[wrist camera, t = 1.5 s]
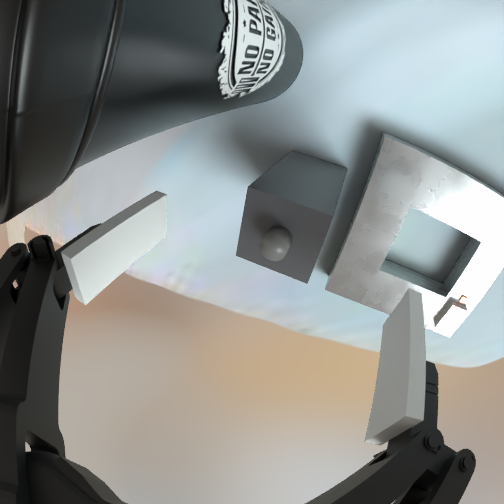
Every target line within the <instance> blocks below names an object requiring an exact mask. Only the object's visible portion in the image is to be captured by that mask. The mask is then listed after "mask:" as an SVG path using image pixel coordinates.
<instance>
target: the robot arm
mask: <svg viewBox="0 0 504 504" xmlns="http://www.w3.org/2000/svg"><path fill="white" fill-rule="evenodd" d="M166 236H167V194H164V193H161V192H159V191H155V192H153V193H152V194H150V195H148V196H146V197H145V198H143V199H141V200H140V201H138V202H136V203H134V204H133V205H131V206H129V207H128V208H126V209H125V210H123V211H121V212H120V213H118V214H117V215H115V216H113V217H112V218H110V219H109V220H107V221H105V222H104V223H102V224H101V223H100V224H97V225H95V226H92V227H90V228H88V229H87V230H85V231H84V232H83V233H81V234H79V235H78V236H77V237H75V238H74V239H72V240H71V241H69V242H68V243H66V244H65V245H64V246H62V247H61V248H59V249H58V250H57V251H55V250H54V246H53V242H52V239H51V237H50V236H48V235H40V236H37V237H35V238H33V239H32V240H31V241H30V242H29V243H28V244H27V245H28V248H29V251H30V253H29V252H28V249H27V246H26V245H25V244H24V243H16V244H14V245H13V246H11V247H10V248H9V249H8V250H7V251H6V252H5V254H4V255H3V257H2V258H1V259H0V504H127V503H125V502H123V501H121V500H120V499H119V498H118V497H117V496H116V494H115V493H114V492H113V491H112V490H111V489H110V488H109V487H108V486H107V485H106V484H105V482H103V481H102V480H101V479H99V478H98V477H97V476H95V475H94V474H93V473H92V472H90V471H89V470H88V469H87V468H85V467H83V466H80V465H78V464H76V463H74V462H72V461H70V460H68V459H66V458H65V446H64V440H63V436H62V434H61V432H60V430H59V425H58V394H59V375H60V362H61V352H62V343H63V335H64V328H65V322H66V315H67V309H68V304H69V299H70V298H69V297H70V295H69V291H71V289H73V292H74V294H75V297H76V298H77V299H78V300H79V301H81V302H82V303H83V304H85V305H86V304H87V303H88V302H89V301H91V299H93V298H94V297H95V296H96V295H97V294H98V293H100V292H101V291H102V290H103V289H104V288H105V287H106V286H107V285H108V284H110V283H111V282H112V281H113V280H114V279H115V278H117V277H118V276H119V275H120V274H121V273H122V272H124V271H125V270H126V269H127V268H128V267H130V266H131V265H132V264H133V263H134V262H136V261H137V260H138V259H139V258H140V257H142V256H143V255H144V254H145V253H146V252H148V251H149V250H150V249H151V248H153V247H154V246H155V245H156V244H157V243H159V242H160V241H161V240H162V239H164V238H165V237H166ZM14 280H16V282H17V284H18V286H17V287H16V288H14V286H13V284H12V283H13V282H14ZM437 395H438V373H437V370H436V367H435V364H434V363H431V362H428V361H426V350H425V327H424V313H423V302H422V293H420V292H418V291H415V290H413V289H410V288H408V290H407V291H406V293H405V294H404V296H403V297H402V299H401V300H400V302H399V303H398V305H397V306H396V308H395V309H394V310H393V312H392V313H391V315H390V316H389V318H388V319H387V320H386V322H385V323H384V325H383V332H382V342H381V351H380V359H379V367H378V374H377V381H376V387H375V393H374V398H373V404H372V409H371V414H370V419H369V424H368V428H367V433H366V437H365V442H369V443H373V444H376V445H382V444H384V443H386V442H388V441H389V442H388V447H387V449H386V450H384V451H382V452H380V453H378V454H376V455H374V459H373V460H371V461H370V462H369V463H367V464H366V465H365V466H363V467H362V468H361V469H359V470H358V471H357V472H355V473H354V474H352V475H351V476H349V477H348V478H347V479H345V480H344V481H342V482H341V483H339V484H337V485H336V486H334V487H333V488H331V489H330V490H328V491H327V492H325V493H323V494H321V495H320V496H318V497H316V498H315V499H313V500H311V501H309V502H307V503H306V504H391V503H392V502H394V500H395V502H394V503H393V504H458V503H459V501H460V499H461V497H462V495H463V493H464V491H465V489H466V487H467V485H468V483H469V481H470V479H471V477H472V474H473V472H474V469H475V466H476V460H475V456H474V454H473V453H472V451H471V450H469V449H462V450H460V451H458V452H455V451H454V450H452V449H451V448H449V447H448V446H446V445H445V444H444V440H443V436H442V434H441V432H440V431H439V430H438V429H437V416H438V415H437V414H438V396H437ZM25 442H27V443H28V444H29V445H30V448H31V451H30V452H25Z"/></svg>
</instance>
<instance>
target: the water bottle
mask: <svg viewBox="0 0 504 504" xmlns="http://www.w3.org/2000/svg"><path fill="white" fill-rule="evenodd" d="M302 61H303V47H302V42H301V39H300V36H299V34H298V32H297V31H296V29H295V28H294V26H293V25H292V24H291V23H290V22H289V21H288V20H287V19H286V18H285V17H283V16H282V15H281V14H280V13H279V12H278V11H277V10H275V9H274V8H273V7H272V6H271V5H270V4H268V3H267V2H266V1H265V0H0V224H2V223H5V222H7V221H9V220H10V219H12V218H13V217H15V216H16V215H18V214H20V213H21V212H23V211H24V210H26V209H28V208H29V207H31V206H33V205H34V204H36V203H38V202H39V201H41V200H43V199H44V198H46V197H48V196H49V195H50V194H52V193H53V192H54V191H55V189H56V188H57V187H59V186H60V185H61V184H63V183H64V182H65V181H66V180H67V179H68V178H69V177H70V175H71V174H72V173H73V172H74V170H75V169H76V168H78V167H80V166H82V165H84V164H86V163H88V162H90V161H92V160H95V159H97V158H99V157H101V156H103V155H105V154H107V153H110V152H112V151H114V150H116V149H119V148H121V147H123V146H126V145H128V144H131V143H133V142H135V141H138V140H140V139H143V138H146V137H148V136H151V135H153V134H156V133H159V132H162V131H164V130H167V129H170V128H173V127H176V126H179V125H182V124H185V123H188V122H191V121H194V120H197V119H200V118H204V117H207V116H211V115H214V114H218V113H221V112H225V111H229V110H232V109H236V108H240V107H244V106H248V105H253V104H257V103H261V102H265V101H268V100H271V99H273V98H275V97H277V96H279V95H280V94H282V93H283V92H284V91H286V90H287V89H288V88H289V87H290V86H291V85H292V83H293V82H294V81H295V79H296V78H297V76H298V74H299V71H300V69H301V66H302Z"/></svg>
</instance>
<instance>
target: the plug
mask: <svg viewBox="0 0 504 504" xmlns="http://www.w3.org/2000/svg"><path fill="white" fill-rule="evenodd" d="M346 172H347V168H344V167H341V166H338V165H335V164H333V163H330V162H327V161H324V160H321V159H318V158H315V157H312V156H309V155H306V154H302V153H299V152H296V151H291V152H290V153H289V154H288V155H286V156H285V157H284V158H283V159H281V160H280V161H279V162H278V163H276V164H275V165H274V166H273V167H271V168H270V169H269V170H268V171H266V172H265V173H264V174H263V175H262V176H260V177H259V178H258V179H257V180H256V181H254V182H253V183H252V184H251V185H250V186H248V189H247V195H246V200H245V206H244V212H243V217H242V223H241V229H240V235H239V241H238V246H237V252H236V256H238V257H241V258H244V259H246V260H249V261H251V262H254V263H256V264H259V265H261V266H264V267H266V268H269V269H271V270H274V271H276V272H279V273H281V274H284V275H287V276H289V277H292V278H294V279H297V280H299V281H302V282H304V283H308V281H309V278H310V276H311V273H312V271H313V268H314V266H315V263H316V260H317V258H318V255H319V253H320V250H321V247H322V245H323V242H324V239H325V237H326V234H327V231H328V229H329V226H330V223H331V220H332V218H333V215H334V211H335V208H336V205H337V202H338V199H339V195H340V192H341V189H342V186H343V182H344V179H345V175H346Z"/></svg>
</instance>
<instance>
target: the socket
mask: <svg viewBox="0 0 504 504" xmlns="http://www.w3.org/2000/svg"><path fill="white" fill-rule="evenodd" d="M410 206H411V207H413V208H415V209H417V210H420V211H422V212H424V213H426V214H428V215H430V216H432V217H434V218H437V219H439V220H441V221H443V222H445V223H447V224H449V225H451V226H453V227H455V228H456V229H458V230H460V231H462V232H464V233H466V234H468V235H470V236H472V237H471V239H470V240H469V242H468V244H467V246H466V247H465V249H464V251H463V252H462V254H461V256H460V257H459V259H458V261H457V262H456V264H455V266H454V267H453V269H452V270H451V272H450V273H449V275H448V277H447V278H446V280H445V281H444V283H443V284H442V283H440V282H438V281H436V280H433V279H431V278H429V277H427V276H424V275H422V274H420V273H417V272H415V271H413V270H410V269H408V268H406V267H403V266H401V265H398V264H396V263H394V262H391V261H389V260H386V259H385V258H386V256H387V254H388V252H389V250H390V248H391V246H392V244H393V242H394V240H395V238H396V236H397V234H398V232H399V230H400V228H401V226H402V224H403V222H404V220H405V217H406V215H407V213H408V211H409V209H410ZM503 266H504V195H503V194H501V193H500V192H498V191H497V190H495V189H494V188H492V187H491V186H489V185H487V184H486V183H484V182H482V181H481V180H479V179H477V178H476V177H474V176H472V175H471V174H469V173H467V172H465V171H464V170H462V169H460V168H458V167H456V166H455V165H453V164H451V163H449V162H447V161H445V160H443V159H441V158H439V157H437V156H435V155H433V154H431V153H429V152H427V151H425V150H423V149H421V148H419V147H416V146H414V145H412V144H410V143H407V142H405V141H403V140H401V139H398V138H396V137H393V136H391V135H388V134H386V133H383V135H382V138H381V141H380V144H379V148H378V151H377V154H376V157H375V160H374V163H373V165H372V168H371V171H370V174H369V177H368V180H367V182H366V185H365V188H364V191H363V193H362V196H361V199H360V201H359V204H358V207H357V209H356V212H355V214H354V217H353V220H352V222H351V225H350V227H349V230H348V232H347V234H346V237H345V239H344V242H343V244H342V247H341V249H340V251H339V254H338V256H337V258H336V261H335V263H334V265H333V267H332V270H331V272H330V274H329V277H328V280H327V284H326V287H325V290H327V291H330V292H332V293H335V294H337V295H340V296H343V297H345V298H348V299H350V300H353V301H356V302H358V303H361V304H363V305H366V306H368V307H371V308H374V309H376V310H379V311H382V312H384V313H387V314H389V315H391V313H392V312H393V310H394V309H395V308H396V306H397V305H398V303H399V302H400V300H401V299H402V297H403V296H404V294H405V293H406V291H407V290H408V288H410V289H413V290H415V291H418V292H420V293H422V302H423V313H424V327H425V328H426V329H429V330H432V331H434V332H437V333H440V334H442V335H445V336H448V337H450V336H451V335H452V334H453V332H454V331H455V330H456V329H457V328H458V327H459V325H460V324H461V323H462V322H463V321H464V320H465V318H466V317H467V316H468V315H469V313H470V312H471V311H472V310H473V308H474V307H475V306H476V305H477V303H478V302H479V301H480V299H481V298H482V297H483V295H484V294H485V293H486V291H487V290H488V288H489V287H490V286H491V284H492V283H493V281H494V280H495V278H496V277H497V275H498V274H499V272H500V271H501V269H502V268H503Z"/></svg>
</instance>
